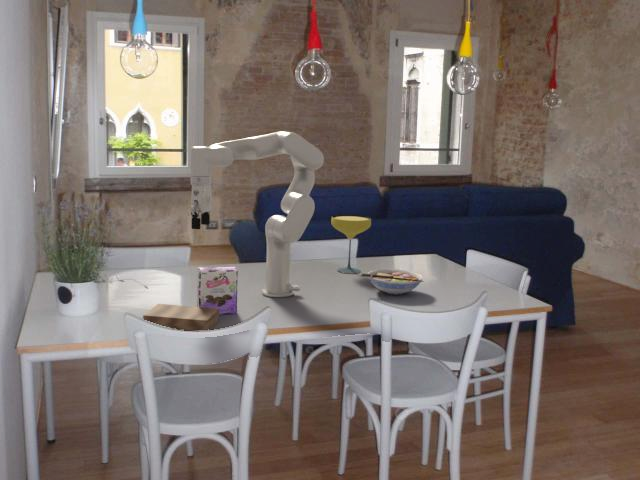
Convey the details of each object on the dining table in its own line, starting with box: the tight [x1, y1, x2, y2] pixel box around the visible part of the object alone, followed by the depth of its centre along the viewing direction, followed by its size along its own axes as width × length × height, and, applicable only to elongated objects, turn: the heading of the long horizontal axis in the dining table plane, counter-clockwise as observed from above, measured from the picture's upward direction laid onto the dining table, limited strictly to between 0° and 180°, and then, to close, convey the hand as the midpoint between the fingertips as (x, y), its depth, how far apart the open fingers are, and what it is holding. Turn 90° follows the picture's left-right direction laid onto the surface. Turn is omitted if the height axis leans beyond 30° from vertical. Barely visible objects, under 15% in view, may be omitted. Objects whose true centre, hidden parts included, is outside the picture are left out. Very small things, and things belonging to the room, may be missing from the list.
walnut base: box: [142, 303, 220, 331], centre depth 242 cm, size 22×14×4 cm, turn 82°
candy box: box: [196, 266, 239, 316], centre depth 254 cm, size 14×6×16 cm, turn 105°
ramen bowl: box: [360, 268, 424, 296], centre depth 291 cm, size 25×23×8 cm
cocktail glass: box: [330, 213, 372, 274], centre depth 324 cm, size 18×18×25 cm
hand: (200, 226), depth 261 cm, fingers open, 9 cm apart
